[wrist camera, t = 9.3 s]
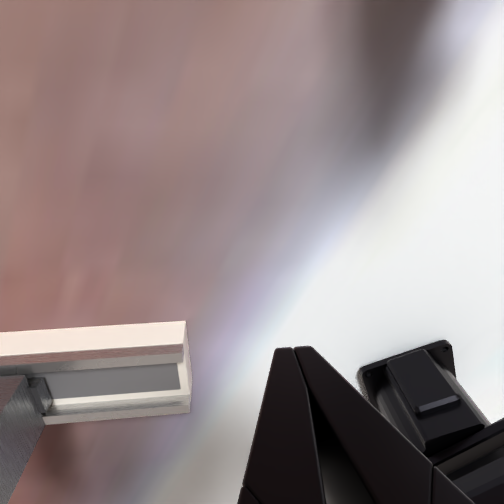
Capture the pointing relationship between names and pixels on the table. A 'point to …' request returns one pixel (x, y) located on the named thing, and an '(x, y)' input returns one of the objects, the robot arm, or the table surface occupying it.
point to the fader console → (105, 369)
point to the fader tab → (19, 426)
